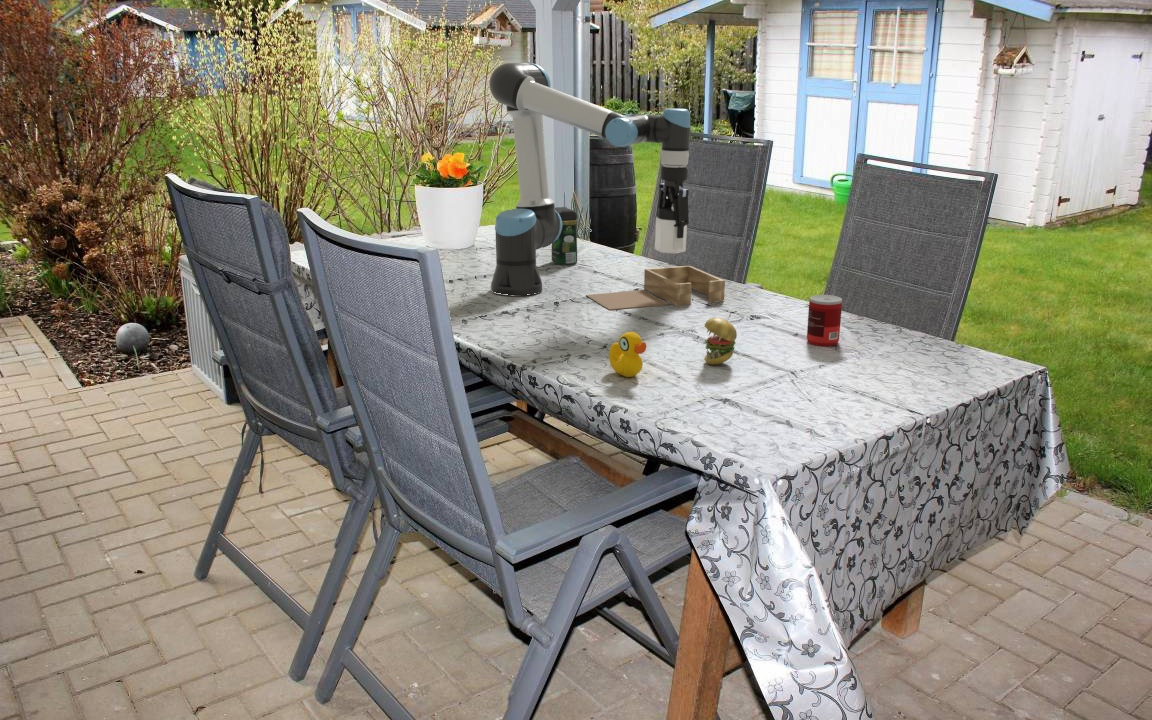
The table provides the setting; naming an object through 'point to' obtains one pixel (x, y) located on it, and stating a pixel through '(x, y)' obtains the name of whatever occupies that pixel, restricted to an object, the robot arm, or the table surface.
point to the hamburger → (720, 340)
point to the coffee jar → (566, 238)
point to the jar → (667, 231)
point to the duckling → (627, 354)
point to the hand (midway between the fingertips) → (670, 246)
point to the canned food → (824, 320)
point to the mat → (627, 300)
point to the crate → (682, 284)
